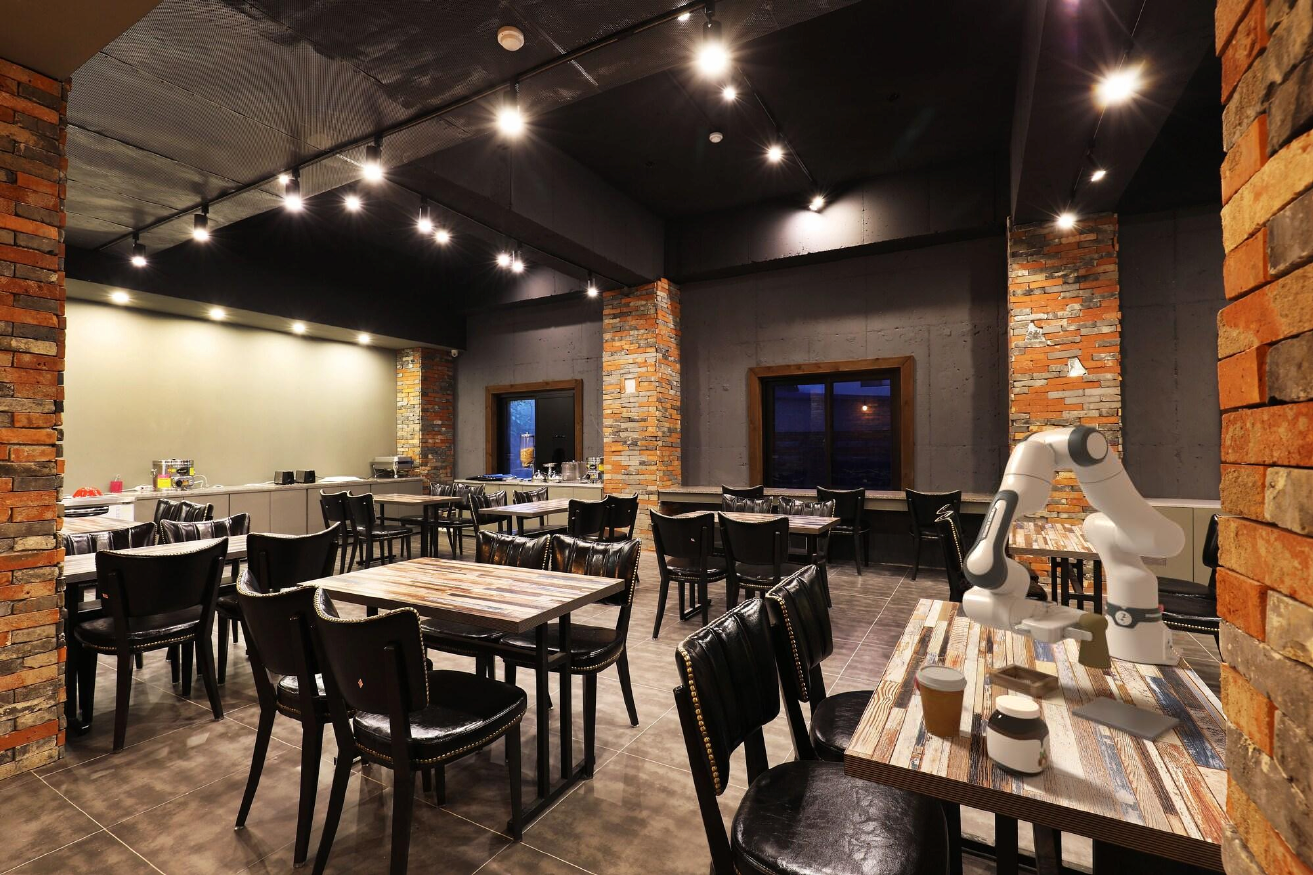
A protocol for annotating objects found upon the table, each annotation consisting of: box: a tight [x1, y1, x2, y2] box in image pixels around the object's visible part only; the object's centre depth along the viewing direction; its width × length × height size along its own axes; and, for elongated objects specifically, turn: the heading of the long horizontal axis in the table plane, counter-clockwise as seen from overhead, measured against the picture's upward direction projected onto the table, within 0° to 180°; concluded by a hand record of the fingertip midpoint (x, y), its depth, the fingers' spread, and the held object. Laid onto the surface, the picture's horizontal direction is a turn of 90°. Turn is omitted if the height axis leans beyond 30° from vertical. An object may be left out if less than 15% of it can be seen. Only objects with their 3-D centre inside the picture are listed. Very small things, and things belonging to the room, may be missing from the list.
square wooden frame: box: [988, 663, 1060, 699], centre depth 145 cm, size 11×11×2 cm
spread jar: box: [985, 694, 1051, 778], centre depth 111 cm, size 12×11×12 cm
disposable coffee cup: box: [915, 664, 968, 739], centre depth 123 cm, size 10×10×12 cm
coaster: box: [1071, 695, 1180, 742], centre depth 127 cm, size 14×14×1 cm
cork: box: [1077, 612, 1112, 670], centre depth 132 cm, size 6×6×11 cm
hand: (1098, 634), depth 131 cm, fingers closed on cork, 4 cm apart
